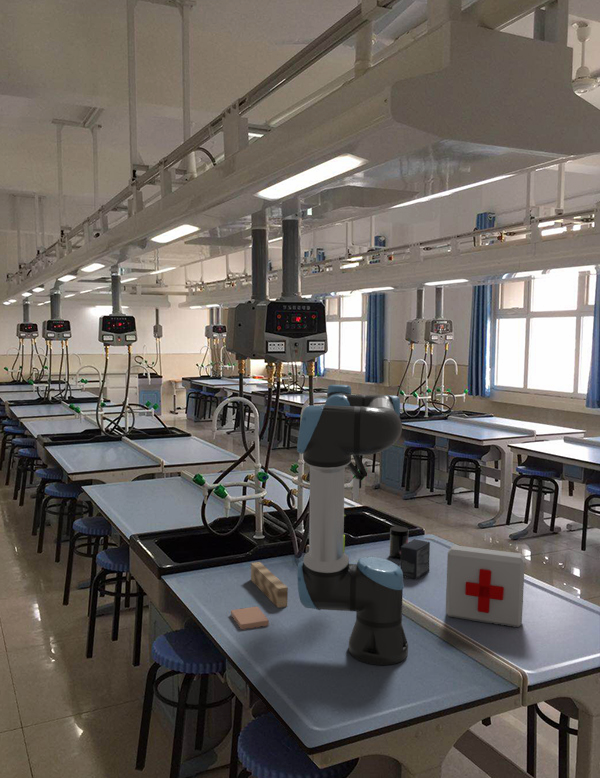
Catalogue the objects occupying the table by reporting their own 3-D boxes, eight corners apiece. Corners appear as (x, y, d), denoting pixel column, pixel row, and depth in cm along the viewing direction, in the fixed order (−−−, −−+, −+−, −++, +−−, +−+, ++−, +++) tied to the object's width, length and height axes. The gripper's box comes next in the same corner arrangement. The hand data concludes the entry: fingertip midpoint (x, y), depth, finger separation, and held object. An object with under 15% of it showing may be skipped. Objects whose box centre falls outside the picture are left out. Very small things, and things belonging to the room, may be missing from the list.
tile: (257, 613, 192) (268, 627, 183) (230, 616, 189) (240, 631, 180) (257, 606, 192) (268, 620, 183) (230, 610, 189) (241, 624, 180)
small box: (412, 567, 232) (413, 538, 231) (429, 571, 228) (431, 541, 227) (398, 575, 224) (399, 545, 223) (416, 580, 220) (417, 549, 219)
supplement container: (396, 560, 238) (397, 532, 238) (385, 555, 244) (386, 527, 244) (411, 558, 242) (412, 530, 241) (400, 552, 248) (401, 525, 247)
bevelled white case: (444, 619, 189) (446, 551, 188) (447, 608, 197) (450, 543, 195) (521, 631, 182) (524, 561, 180) (522, 620, 189) (525, 552, 188)
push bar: (287, 607, 196) (287, 587, 196) (278, 608, 195) (278, 588, 195) (259, 579, 218) (259, 561, 218) (250, 580, 217) (251, 562, 216)
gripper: (367, 430, 215) (365, 494, 217) (297, 433, 205) (295, 500, 207) (379, 434, 208) (377, 500, 210) (306, 437, 198) (305, 506, 200)
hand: (336, 500), depth 208 cm, fingers open, 13 cm apart
